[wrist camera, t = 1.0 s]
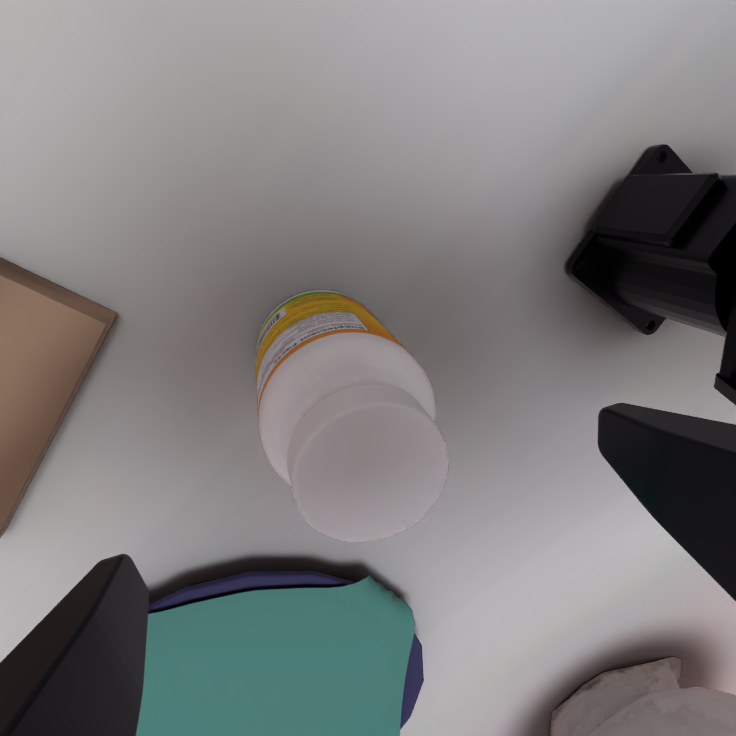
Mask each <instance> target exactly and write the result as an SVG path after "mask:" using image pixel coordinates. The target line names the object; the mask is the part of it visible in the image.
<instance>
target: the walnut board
mask: <svg viewBox="0 0 736 736" xmlns="http://www.w3.org/2000/svg"><path fill="white" fill-rule="evenodd" d="M116 315H117V313H115V312H113V311H111V310H109V309H107V308H105V307H103V306H100V305H98V304H96V303H94V302H92V301H90V300H88V299H86V298H84V297H82V296H79V295H77V294H75V293H73V292H71V291H69V290H67V289H65V288H63V287H61V286H58V285H56V284H54V283H52V282H50V281H48V280H46V279H44V278H42V277H40V276H38V275H35V274H33V273H31V272H29V271H27V270H25V269H23V268H21V267H19V266H17V265H14V264H12V263H10V262H8V261H6V260H4V259H2V258H0V538H1V536H2V535H3V534H4V532H5V530H6V528H7V526H8V525H9V523H10V521H11V519H12V517H13V515H14V513H15V511H16V509H17V507H18V505H19V503H20V501H21V499H22V497H23V495H24V493H25V492H26V490H27V488H28V486H29V484H30V482H31V480H32V478H33V476H34V474H35V472H36V470H37V468H38V466H39V464H40V462H41V461H42V459H43V457H44V455H45V453H46V451H47V449H48V447H49V445H50V443H51V441H52V439H53V437H54V435H55V433H56V431H57V429H58V428H59V426H60V424H61V422H62V420H63V418H64V416H65V414H66V412H67V410H68V408H69V406H70V404H71V402H72V400H73V398H74V397H75V395H76V393H77V391H78V389H79V387H80V385H81V383H82V381H83V379H84V377H85V375H86V373H87V371H88V369H89V367H90V366H91V364H92V362H93V360H94V358H95V356H96V354H97V352H98V350H99V348H100V346H101V344H102V342H103V340H104V338H105V336H106V334H107V333H108V331H109V329H110V327H111V325H112V323H113V321H114V319H115V317H116Z"/></svg>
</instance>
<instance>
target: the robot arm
mask: <svg viewBox="0 0 736 736" xmlns="http://www.w3.org/2000/svg"><path fill="white" fill-rule="evenodd" d="M658 153H659V160H658V162H657V155H658ZM579 263H581V267H580V269H579V270H578V271H577V266H578V264H579ZM566 269H567V273H568V274H569V275H570V276H571V277H572V278H573V279H574V280H576V281H577V282H578V283H579V284H581V285H582V286H583V287H584V288H586V289H587V290H588V291H589V292H590V293H592V294H593V295H594V296H595V297H597V298H598V299H599V300H600V301H601V302H603V303H604V304H605V305H606V306H608V307H609V308H610V309H611V310H613V311H614V312H615V313H616V314H617V315H619V316H620V317H621V318H622V319H624V320H625V321H626V322H627V323H629V324H630V325H631V326H632V327H633V328H635V329H636V330H637V331H638V332H641V333H643V334H646V335H651V334H653V333H654V332H655V331H656V330H657V329H658V328H659V326H660V325H661V324H662V323H663V321H664V320H665V319H666V318H668V319H671V320H674V321H678V322H681V323H684V324H687V325H690V326H693V327H696V328H699V329H703V330H706V331H709V332H712V333H715V334H718V335H721V336H724V337H725V343H724V349H723V355H722V360H721V366H720V372H719V373H717V374H716V378H715V383H714V388H715V389H716V390H718V391H719V392H720V393H721V394H723V395H724V396H725V397H726V398H728V399H729V400H730V401H731V402H732V403H734V404H735V405H736V175H719V174H718V173H692V172H691V171H690V169H689V168H688V167H687V166H686V165H685V164H684V163H683V161H682V160H681V159H680V158H679V157H678V156H677V155H676V153H675V152H674V151H673V150H672V149H671V148H670V147H669V146H668V145H655V146H653V147H651V148H650V149H649V150H648V151H647V152H646V154H645V155H644V157H643V158H642V159H641V161H640V162H639V164H638V165H637V166H636V168H635V169H634V171H633V172H632V173H631V175H630V176H629V177H628V178H627V179H626V180H625V182H624V183H623V185H622V186H621V187H620V189H619V190H618V192H617V193H616V194H615V196H614V197H613V199H612V200H611V201H610V203H609V204H608V206H607V207H606V208H605V210H604V211H603V213H602V214H601V215H600V217H599V218H598V220H597V221H596V222H595V224H594V226H593V228H592V229H591V231H590V232H589V233H588V235H587V236H586V237H585V239H584V240H583V242H582V243H581V244H580V246H579V247H578V249H577V250H576V251H575V253H574V254H573V256H572V257H571V258H570V260H569V262H568V264H567V268H566ZM648 322H649V324H648ZM647 324H648V326H647ZM598 447H599V450H600V452H601V454H602V456H603V457H604V458H605V459H606V461H607V462H608V463H609V464H610V466H611V467H612V468H613V469H614V470H615V472H616V473H617V474H618V475H619V477H620V478H621V479H622V480H623V481H624V483H625V484H626V485H627V486H628V488H629V489H630V490H631V491H632V492H633V494H634V495H635V496H636V497H637V499H638V500H639V501H640V502H641V504H642V505H643V506H644V507H645V508H646V509H647V511H648V512H649V513H650V514H651V515H652V516H653V517H654V519H655V520H656V521H657V522H658V523H659V524H660V525H661V526H662V527H663V528H664V529H665V530H666V531H667V532H668V533H669V534H670V535H671V536H672V537H673V538H674V539H675V540H676V541H677V542H678V543H679V544H680V545H681V546H682V547H683V548H684V549H685V550H686V551H687V552H688V553H689V554H690V555H691V556H692V557H693V558H694V559H695V560H696V561H697V562H698V564H699V565H700V566H701V567H702V568H703V569H704V570H705V571H706V572H707V573H708V574H709V575H710V576H711V577H712V578H713V579H714V580H715V581H716V582H717V583H718V584H719V585H720V586H721V587H722V588H723V589H724V590H725V591H726V592H727V593H728V594H729V595H730V596H731V597H732V598H733V599H734V600H735V601H736V425H734V424H729V423H724V422H718V421H713V420H708V419H703V418H698V417H693V416H687V415H682V414H677V413H672V412H667V411H661V410H656V409H651V408H646V407H641V406H636V405H630V404H625V403H618V404H614V405H611V406H608V407H604V408H603V409H601V410H600V412H599V416H598ZM148 608H149V594H148V590H147V587H146V584H145V583H144V581H143V579H142V577H141V575H140V573H139V572H138V570H137V568H136V566H135V564H134V562H133V560H132V559H131V557H130V556H128V555H127V554H120V555H117V556H114V557H110V558H107V559H104V560H101V561H100V562H99V563H97V564H96V565H95V566H94V567H93V568H92V570H91V571H90V572H89V573H88V574H87V575H86V576H85V577H84V578H83V579H82V580H81V581H80V582H79V583H78V584H77V585H76V586H75V587H74V588H73V589H72V590H71V591H70V592H69V593H68V594H67V595H66V596H65V597H64V598H63V599H62V600H61V601H60V602H59V603H58V604H57V605H56V606H55V607H54V608H53V609H52V610H51V611H50V613H49V614H48V615H47V616H46V617H45V618H44V619H43V620H42V621H41V622H40V623H39V624H38V625H37V626H36V627H35V628H34V629H33V630H32V631H31V632H30V633H29V634H28V635H27V636H26V637H25V638H24V639H23V640H22V641H21V642H20V643H19V644H18V645H17V646H16V647H15V648H14V649H13V650H12V651H11V652H10V653H9V654H8V655H7V657H6V658H5V659H4V660H3V661H2V662H1V663H0V736H136V732H137V726H138V720H139V714H140V708H141V701H142V694H143V684H144V671H145V655H146V640H147V624H148Z"/></svg>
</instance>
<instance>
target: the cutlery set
mask: <svg viewBox="0 0 736 736" xmlns="http://www.w3.org/2000/svg"><path fill="white" fill-rule="evenodd" d="M414 626H415V622H414V617H413V612H412V609H411V608H410V607H409V606H408V604H407V603H406V602H405V601H404V600H403V599H401V598H398V597H396V596H395V595H394V593H393V592H391V591H387V590H386V589H385V588H384V587H383V586H382V584H380V583H377V582H375V581H374V580H373V579H372V577H371V576H370V575H369V576H368V577H367V578H365V579H363V580H361V581H359V582H353V581H349V580H346V579H342V578H338V577H334V576H331V575H327V574H323V573H320V572H316V571H249V572H245V573H241V574H237V575H233V576H228V577H224V578H220V579H216V580H212V581H208V582H204V583H200V584H196V585H192V586H188V587H184V588H181V589H179V590H177V591H175V592H173V593H171V594H169V595H167V596H165V597H163V598H162V599H160V600H158V601H156V602H154V603H152V604H150V605H149V608H148V624H147V640H146V655H145V671H144V684H143V694H142V701H141V708H140V714H139V720H138V726H137V732H136V736H400V729H401V728H402V727H403V725H404V724H405V723H406V722H407V720H408V719H409V718H410V716H411V714H412V711H413V708H414V706H415V703H416V700H417V697H418V695H419V692H420V689H421V686H422V684H423V681H424V679H423V660H422V645H421V643H420V642H419V640H418V638H417V637H416V635H415V633H414Z"/></svg>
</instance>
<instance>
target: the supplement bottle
mask: <svg viewBox="0 0 736 736" xmlns="http://www.w3.org/2000/svg"><path fill="white" fill-rule="evenodd" d="M255 360H256V382H257V404H258V424H259V431H260V437H261V442H262V446H263V449H264V452H265V454H266V456H267V458H268V460H269V462H270V464H271V465H272V467H273V468H274V470H275V471H276V472H277V473H278V475H279V476H280V477H281V478H282V479H283V480H285V481H286V482H287V483H288V484H289V485H291V488H292V494H293V498H294V501H295V504H296V506H297V508H298V510H299V512H300V514H301V515H302V516H303V518H304V519H305V520H306V522H307V523H308V524H310V525H311V526H312V527H313V528H314V529H316V530H317V531H318V532H320V533H322V534H324V535H326V536H328V537H330V538H333V539H336V540H340V541H345V542H358V543H360V542H370V541H376V540H381V539H384V538H388V537H391V536H393V535H395V534H398V533H400V532H402V531H404V530H406V529H407V528H409V527H410V526H412V525H413V524H415V523H416V522H417V521H418V520H419V519H421V518H422V517H423V516H424V515H425V514H426V513H427V512H428V511H429V510H430V509H431V507H432V506H433V505H434V503H435V502H436V500H437V499H438V497H439V496H440V494H441V492H442V490H443V488H444V485H445V482H446V478H447V474H448V469H449V454H448V449H447V445H446V441H445V439H444V437H443V435H442V433H441V431H440V429H439V428H438V426H437V425H436V424H435V415H436V408H435V398H434V394H433V390H432V387H431V384H430V382H429V379H428V377H427V375H426V374H425V372H424V371H423V369H422V368H421V366H420V365H419V364H418V362H417V361H416V360H415V359H414V358H413V356H412V355H411V354H410V353H409V352H408V351H407V350H406V349H405V348H404V347H403V346H402V345H401V344H400V343H399V342H398V341H397V340H396V339H395V337H394V336H393V335H392V334H391V333H390V332H389V331H388V330H387V329H386V328H385V327H384V326H383V325H382V324H381V323H380V322H379V321H378V320H377V319H376V318H375V317H374V316H373V315H372V314H371V313H370V312H369V310H368V309H366V308H365V307H364V306H363V305H362V304H360V303H359V302H358V301H356V300H355V299H353V298H351V297H350V296H347V295H345V294H342V293H339V292H335V291H329V290H314V291H307V292H303V293H300V294H297V295H294V296H292V297H290V298H289V299H287V300H285V301H284V302H282V303H281V304H280V305H279V306H277V307H276V308H275V309H274V310H273V311H272V312H271V313H270V315H269V316H268V317H267V319H266V320H265V322H264V323H263V325H262V327H261V330H260V332H259V335H258V339H257V344H256V352H255Z"/></svg>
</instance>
